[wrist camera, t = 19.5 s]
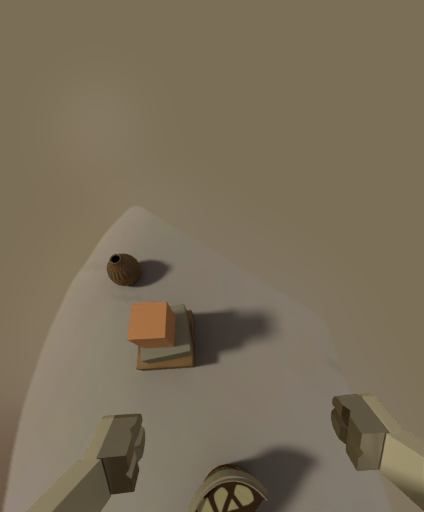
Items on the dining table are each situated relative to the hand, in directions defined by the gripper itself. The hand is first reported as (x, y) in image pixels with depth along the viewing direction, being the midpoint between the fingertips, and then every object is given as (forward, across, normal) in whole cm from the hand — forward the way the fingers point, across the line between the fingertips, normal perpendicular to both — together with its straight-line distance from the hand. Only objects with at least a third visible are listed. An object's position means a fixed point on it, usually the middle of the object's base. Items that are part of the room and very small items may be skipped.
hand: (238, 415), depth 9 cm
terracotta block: (+26, +10, +13) cm, 31 cm away
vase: (+44, +20, +9) cm, 50 cm away
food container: (+18, +2, +36) cm, 40 cm away
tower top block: (+30, +9, +16) cm, 35 cm away
